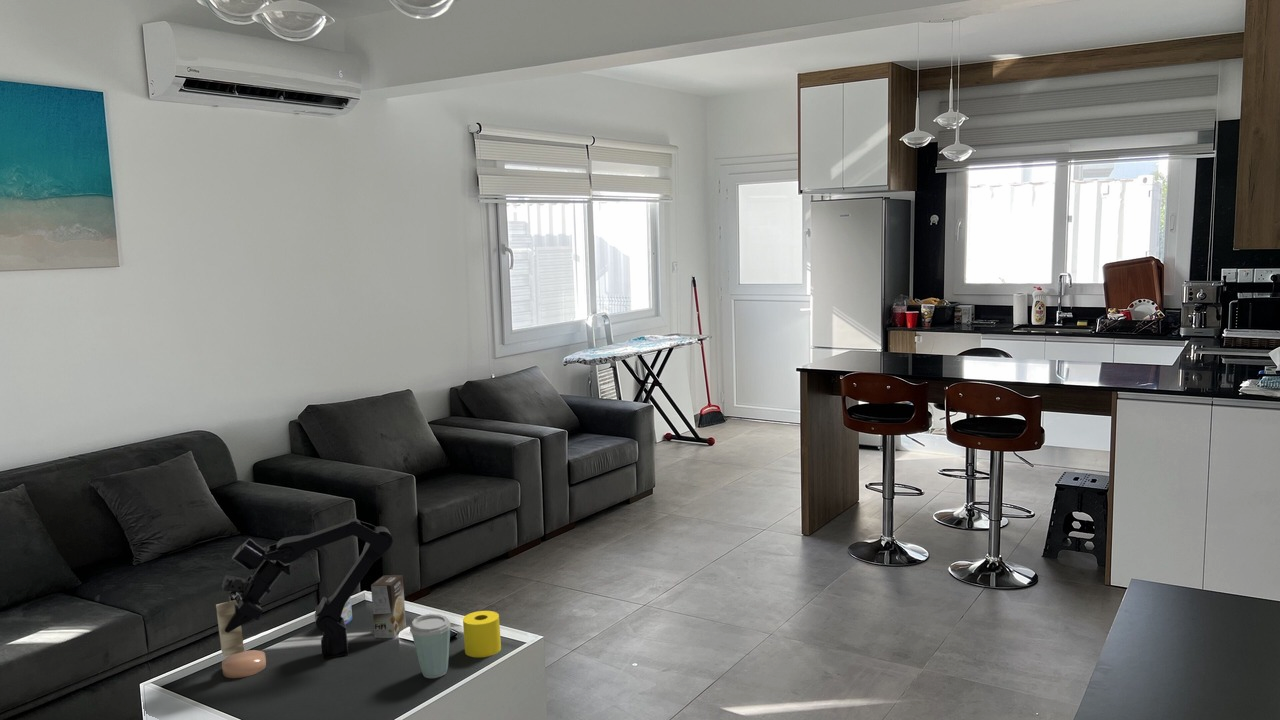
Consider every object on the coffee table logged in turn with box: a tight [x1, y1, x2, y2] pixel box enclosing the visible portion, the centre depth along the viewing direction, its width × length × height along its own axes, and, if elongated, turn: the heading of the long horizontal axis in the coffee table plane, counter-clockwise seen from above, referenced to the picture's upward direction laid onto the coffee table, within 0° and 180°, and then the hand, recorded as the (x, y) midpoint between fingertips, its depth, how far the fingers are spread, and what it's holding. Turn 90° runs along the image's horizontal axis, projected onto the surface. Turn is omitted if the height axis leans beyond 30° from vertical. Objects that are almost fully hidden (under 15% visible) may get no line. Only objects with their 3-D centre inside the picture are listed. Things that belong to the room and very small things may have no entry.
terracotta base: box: [221, 649, 267, 679], centre depth 259 cm, size 11×11×3 cm
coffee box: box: [370, 574, 407, 639], centre depth 280 cm, size 9×6×16 cm
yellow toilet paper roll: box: [462, 610, 502, 658], centre depth 265 cm, size 10×10×9 cm
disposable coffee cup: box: [409, 613, 452, 679], centre depth 250 cm, size 11×11×15 cm
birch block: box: [215, 600, 245, 658], centre depth 255 cm, size 5×5×13 cm
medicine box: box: [341, 596, 353, 626], centre depth 288 cm, size 8×4×9 cm, turn 168°
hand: (224, 628), depth 254 cm, fingers closed on birch block, 5 cm apart
